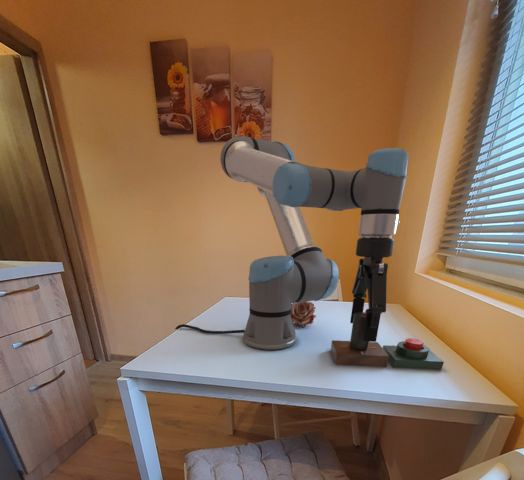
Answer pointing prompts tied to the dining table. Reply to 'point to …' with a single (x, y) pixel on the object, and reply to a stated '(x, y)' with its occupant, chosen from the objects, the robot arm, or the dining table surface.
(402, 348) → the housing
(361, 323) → the dark brown cylinder
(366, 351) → the brown wooden block
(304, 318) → the flower
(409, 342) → the button
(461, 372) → the dining table surface
